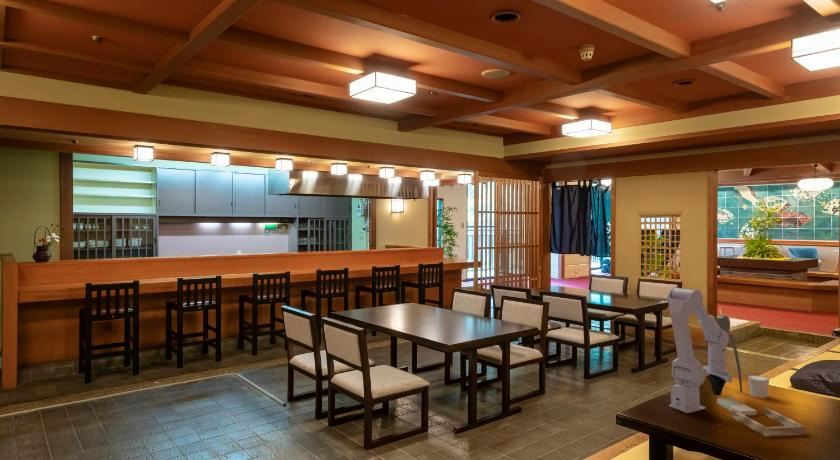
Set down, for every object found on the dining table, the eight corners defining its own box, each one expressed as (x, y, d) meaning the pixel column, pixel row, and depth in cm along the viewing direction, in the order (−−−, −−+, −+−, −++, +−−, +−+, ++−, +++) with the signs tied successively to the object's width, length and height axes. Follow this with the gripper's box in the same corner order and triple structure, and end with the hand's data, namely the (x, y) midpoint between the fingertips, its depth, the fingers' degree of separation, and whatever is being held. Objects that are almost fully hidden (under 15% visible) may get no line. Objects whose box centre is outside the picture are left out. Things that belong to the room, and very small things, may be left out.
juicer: (742, 392, 201) (741, 317, 200) (711, 391, 203) (710, 316, 202) (732, 384, 210) (731, 312, 210) (703, 383, 213) (702, 312, 212)
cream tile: (728, 410, 185) (728, 405, 185) (744, 409, 185) (744, 404, 185) (740, 417, 179) (740, 411, 179) (756, 416, 179) (756, 410, 179)
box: (731, 416, 178) (731, 409, 178) (767, 414, 179) (767, 407, 179) (765, 436, 162) (765, 428, 162) (805, 434, 163) (805, 426, 163)
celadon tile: (717, 404, 191) (716, 398, 191) (732, 403, 191) (732, 398, 191) (727, 410, 185) (727, 404, 185) (743, 409, 185) (743, 403, 185)
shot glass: (768, 394, 199) (768, 376, 198) (769, 400, 193) (769, 381, 193) (748, 391, 202) (747, 374, 202) (748, 397, 196) (748, 379, 196)
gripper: (740, 364, 188) (740, 401, 188) (714, 354, 203) (714, 388, 203) (721, 365, 188) (722, 402, 188) (697, 355, 202) (697, 388, 202)
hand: (717, 394), depth 195 cm, fingers closed
